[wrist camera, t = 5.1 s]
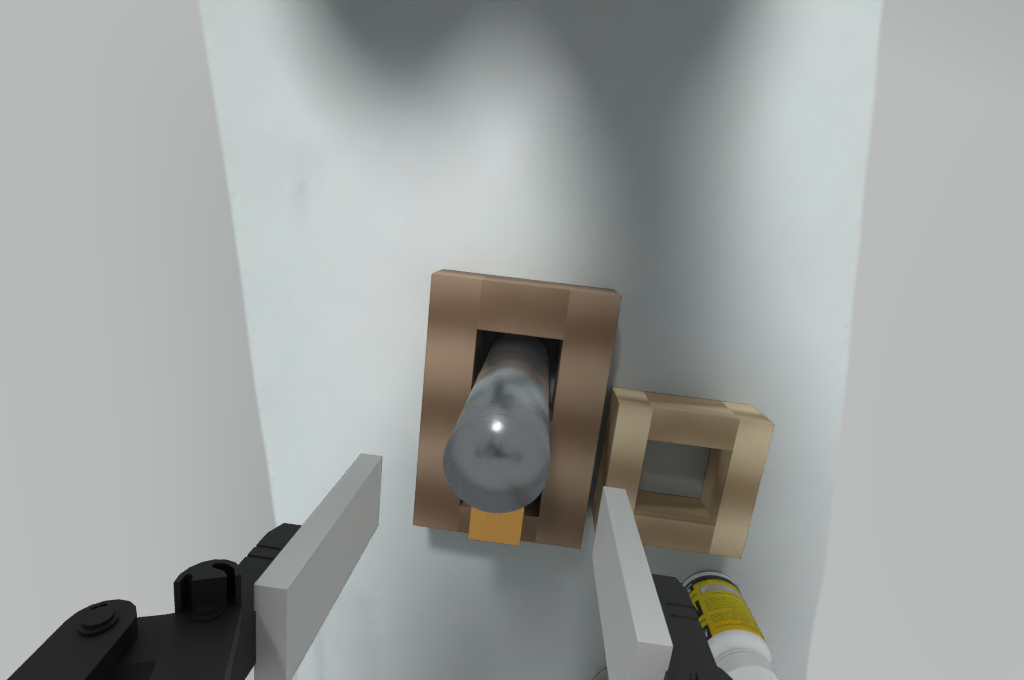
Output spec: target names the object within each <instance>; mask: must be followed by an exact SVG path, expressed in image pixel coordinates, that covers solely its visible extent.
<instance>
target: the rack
mask: <svg viewBox="0 0 1024 680" xmlns="http://www.w3.org/2000/svg"><path fill="white" fill-rule="evenodd" d="M773 428H774V423H773V422H771V421H770V420H769V419H768V418H767V417H766V416H764V415H763V414H762V413H761V412H760V411H759V410H758V409H756V408H755V407H754V406H753V405H747V404H739V403H731V402H723V401H715V400H707V399H700V398H692V397H684V396H676V395H668V394H660V393H653V392H645V391H637V390H629V389H621V388H612V394H611V400H610V406H609V412H608V418H607V424H606V430H605V436H604V442H603V448H602V454H601V460H600V466H599V472H598V478H597V484H596V490H595V496H594V502H593V508H592V513H593V519H594V525H595V531H596V527H597V521H598V515H599V509H600V503H601V497H602V492H603V486H605V487H612V488H620V489H626V493H627V496H628V499H629V502H630V506H631V509H632V512H633V516H634V519H635V522H636V526H637V529H638V532H639V535H640V539H641V542H642V545H648V546H655V547H662V548H669V549H676V550H683V551H690V552H698V553H705V554H712V555H719V556H726V557H733V558H740V559H741V557H742V553H743V549H744V545H745V541H746V537H747V533H748V529H749V525H750V521H751V517H752V513H753V509H754V505H755V501H756V496H757V492H758V488H759V484H760V480H761V476H762V472H763V468H764V464H765V460H766V456H767V452H768V448H769V444H770V440H771V436H772V432H773ZM647 440H654V441H662V442H669V443H677V444H685V445H692V446H700V447H708V448H711V451H710V456H709V460H708V465H707V470H706V474H705V479H704V483H703V488H702V492H701V497H700V499H697V498H690V497H683V496H675V495H668V494H661V493H653V492H646V491H638V487H639V482H640V477H641V471H642V466H643V461H644V455H645V450H646V445H647Z"/></svg>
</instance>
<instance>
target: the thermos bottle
mask: <svg viewBox="0 0 1024 680" xmlns="http://www.w3.org/2000/svg"><path fill="white" fill-rule="evenodd" d="M593 680H609V677H608V670H607V668H606V669H604V670H603V671H601V672H600V673H599V674H598V675H597V676H596V677H595V678H594V679H593Z"/></svg>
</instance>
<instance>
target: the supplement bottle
mask: <svg viewBox="0 0 1024 680" xmlns="http://www.w3.org/2000/svg"><path fill="white" fill-rule="evenodd" d="M683 586H684V587H685V589H686V590H687V591H688V593H689V595H690V598H691V600H692V603H693V606H694V609H695V611H696V613H697V616H698V618H699V619H698V620H699V622H700V624H701V626H702V629H703V631H704V634H705V636H706V639H707V641H708V644H709V647H710V649H711V652H712V654H713V657H714V659H715V662H716V665H717V666H718V667H719V668H721V669H723V670H724V671H725V672H726V673H727V674H728V675H729V676H730V677H731V678H732V679H733V680H779V679H778V677H777V674H776V672H775V670H774V668H773V666H772V655H771V651H770V648H769V646H768V644H767V642H766V641H765V639H764V637H763V635H762V633H761V631H760V629H759V628H758V626H757V624H756V622H755V620H754V618H753V616H752V614H751V612H750V610H749V608H748V606H747V604H746V602H745V601H744V599H743V597H742V595H741V593H740V591H739V589H738V587H737V585H736V584H735V583H734V582H733V581H732V580H731V579H730V578H729V577H727V576H726V575H724V574H721V573H718V572H702V573H698V574H695V575H693V576H691V577H690V578H688V579H687V580H686V581H685V582H684V583H683Z"/></svg>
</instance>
